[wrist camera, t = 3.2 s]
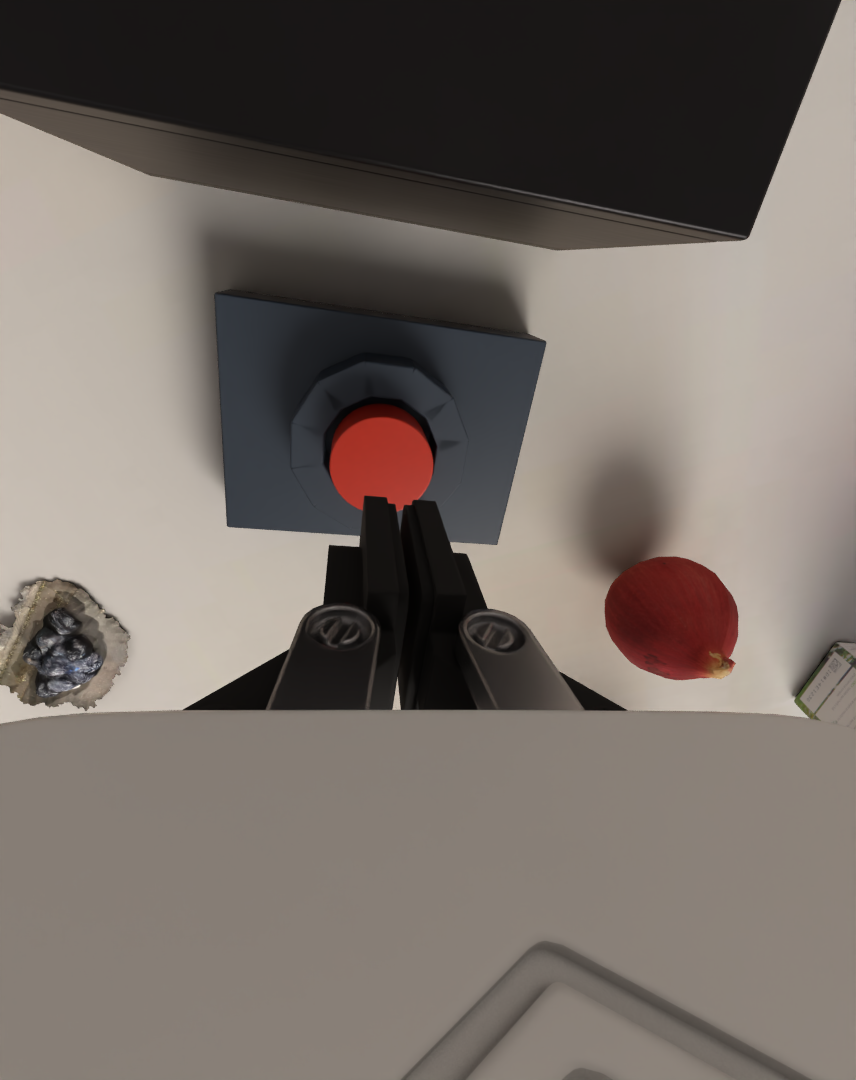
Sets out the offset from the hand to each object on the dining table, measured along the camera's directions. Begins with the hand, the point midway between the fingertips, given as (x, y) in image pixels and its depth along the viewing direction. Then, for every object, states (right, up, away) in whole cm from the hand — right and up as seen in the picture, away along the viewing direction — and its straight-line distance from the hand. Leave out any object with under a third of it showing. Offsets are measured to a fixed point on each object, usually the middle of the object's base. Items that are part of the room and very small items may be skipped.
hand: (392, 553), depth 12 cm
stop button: (-1, +4, +6) cm, 7 cm away
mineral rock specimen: (-18, -5, +13) cm, 23 cm away
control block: (-1, +5, +10) cm, 11 cm away
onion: (+12, -2, +16) cm, 20 cm away
